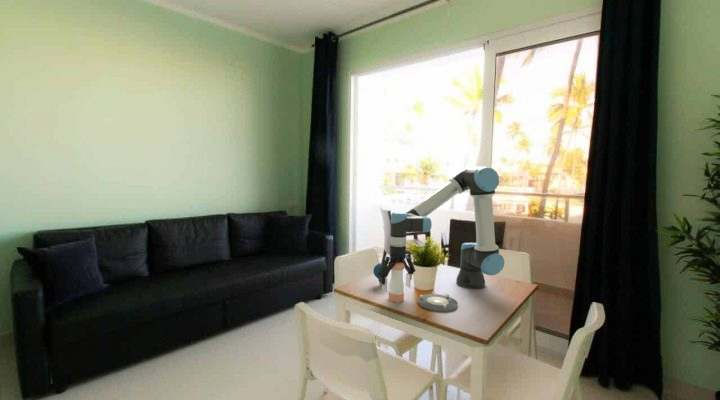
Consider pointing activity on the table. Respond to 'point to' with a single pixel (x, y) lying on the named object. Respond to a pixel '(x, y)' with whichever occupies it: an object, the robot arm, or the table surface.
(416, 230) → the robot arm
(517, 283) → the table surface
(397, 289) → the pepper shaker
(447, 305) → the stud plate
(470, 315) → the table surface
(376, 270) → the light bulb
